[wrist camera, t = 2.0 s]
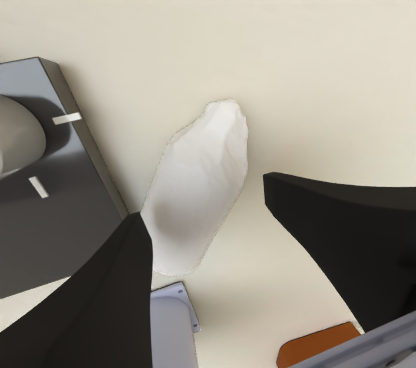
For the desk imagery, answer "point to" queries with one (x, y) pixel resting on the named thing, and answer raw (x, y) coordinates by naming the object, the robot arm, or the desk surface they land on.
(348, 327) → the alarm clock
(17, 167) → the hob knob
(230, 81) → the desk surface
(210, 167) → the white bottle
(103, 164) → the hob
